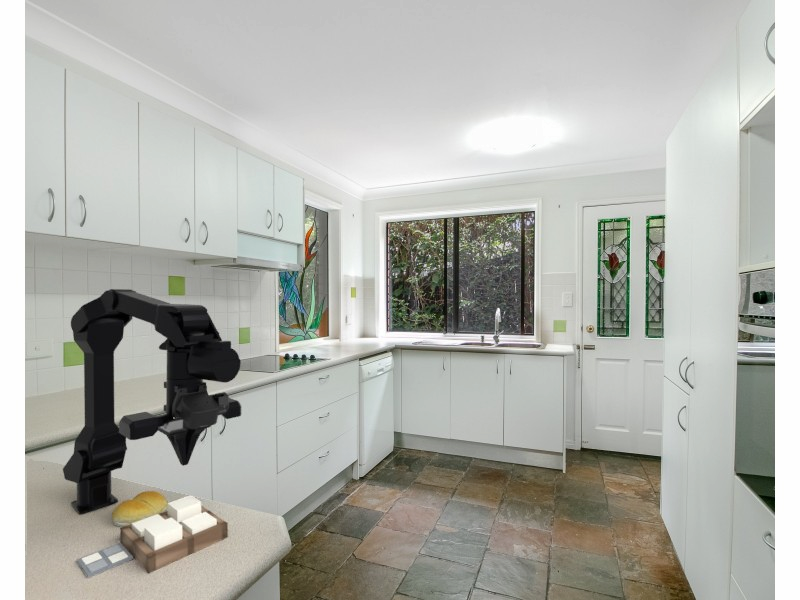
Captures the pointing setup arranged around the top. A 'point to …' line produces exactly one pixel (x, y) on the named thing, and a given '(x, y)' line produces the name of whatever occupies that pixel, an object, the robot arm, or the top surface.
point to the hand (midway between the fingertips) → (184, 464)
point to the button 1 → (145, 524)
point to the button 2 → (162, 533)
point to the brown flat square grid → (175, 550)
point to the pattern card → (104, 559)
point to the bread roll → (139, 508)
